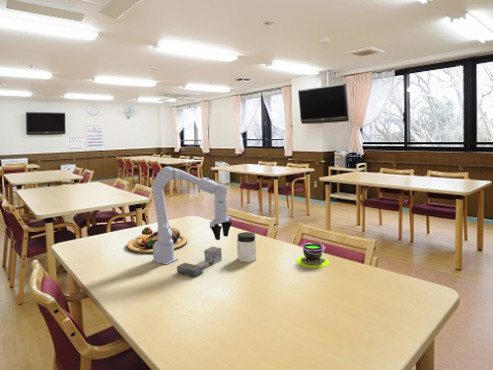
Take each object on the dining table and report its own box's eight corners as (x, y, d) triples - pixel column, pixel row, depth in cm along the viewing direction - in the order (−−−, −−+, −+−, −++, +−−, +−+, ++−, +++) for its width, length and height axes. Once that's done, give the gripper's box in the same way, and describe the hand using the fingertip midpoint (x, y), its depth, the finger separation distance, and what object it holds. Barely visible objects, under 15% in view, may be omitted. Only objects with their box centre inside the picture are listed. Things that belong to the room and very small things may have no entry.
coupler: (177, 273, 148) (176, 266, 147) (197, 263, 159) (197, 256, 159) (195, 277, 142) (194, 270, 142) (215, 267, 154) (215, 260, 153)
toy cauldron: (315, 270, 147) (315, 245, 145) (289, 261, 158) (289, 238, 157) (336, 262, 157) (336, 238, 155) (310, 254, 168) (310, 231, 166)
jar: (246, 264, 156) (245, 238, 155) (233, 259, 162) (233, 234, 161) (259, 258, 162) (259, 234, 161) (247, 254, 168) (247, 230, 167)
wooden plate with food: (123, 241, 196) (122, 227, 195) (179, 233, 210) (178, 219, 208) (130, 260, 168) (129, 243, 166) (194, 249, 181) (193, 233, 180)
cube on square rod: (204, 262, 159) (204, 250, 159) (212, 258, 164) (212, 246, 164) (213, 264, 157) (213, 251, 156) (221, 260, 162) (221, 248, 161)
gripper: (218, 213, 155) (219, 243, 157) (236, 207, 167) (237, 235, 169) (205, 212, 159) (207, 241, 161) (224, 206, 171) (225, 233, 173)
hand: (221, 237), depth 165 cm, fingers open, 6 cm apart
